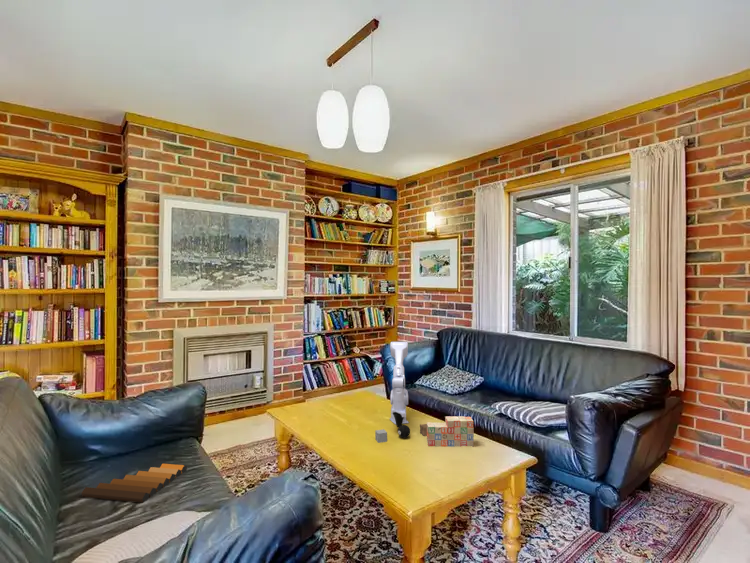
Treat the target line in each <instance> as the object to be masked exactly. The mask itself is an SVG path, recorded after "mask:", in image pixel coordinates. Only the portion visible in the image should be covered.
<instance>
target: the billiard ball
mask: <svg viewBox="0 0 750 563" xmlns="http://www.w3.org/2000/svg"><path fill="white" fill-rule="evenodd" d="M410 434H411V429H410V426H408V425H407V424H402V425H401V426H400V427H397V435H398V436H399V437H400V438H404V439H407V438H408V437H409V436H410Z"/></svg>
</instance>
